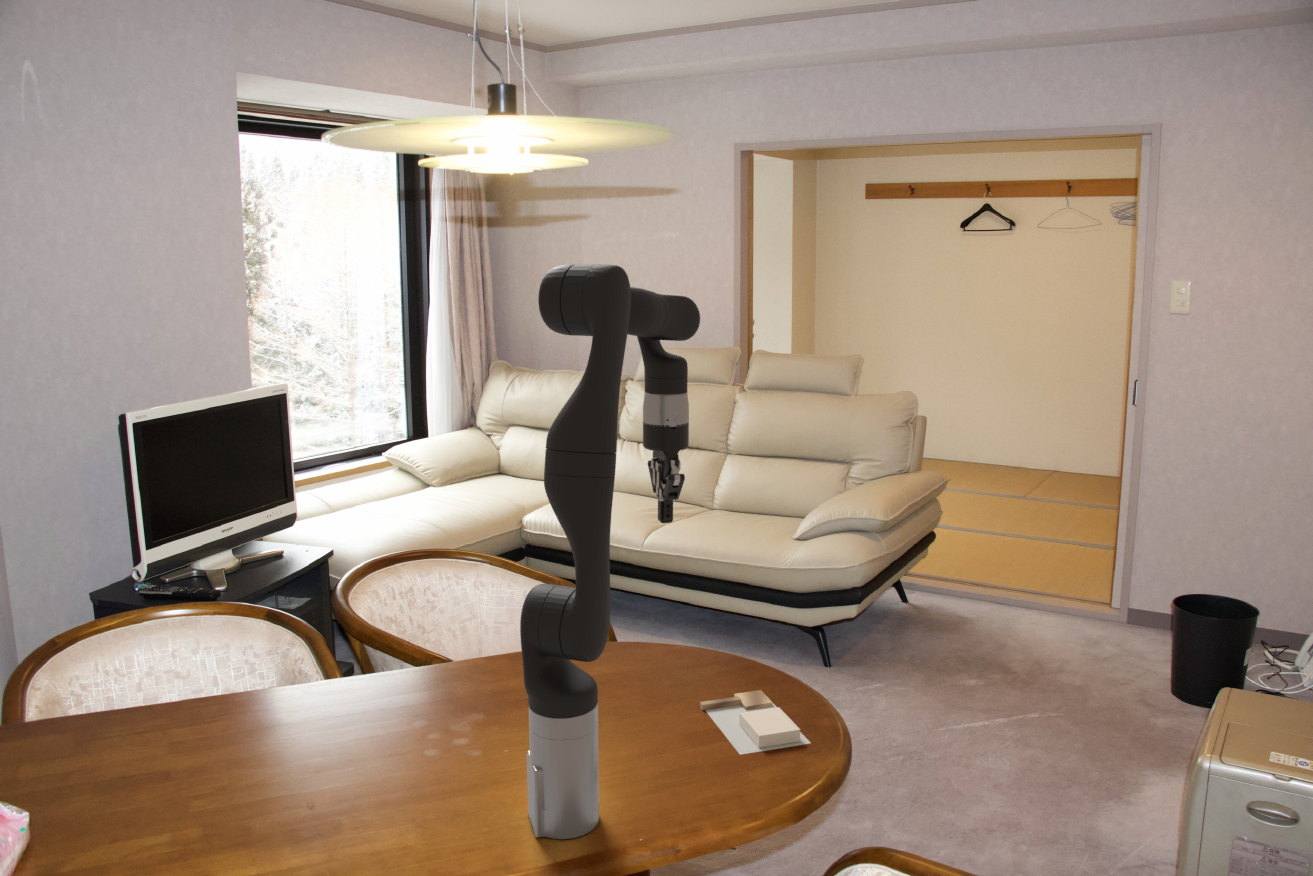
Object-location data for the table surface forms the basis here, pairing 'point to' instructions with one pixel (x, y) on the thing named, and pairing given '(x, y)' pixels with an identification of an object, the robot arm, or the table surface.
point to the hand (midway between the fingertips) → (665, 521)
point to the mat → (737, 736)
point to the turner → (739, 701)
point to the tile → (769, 727)
